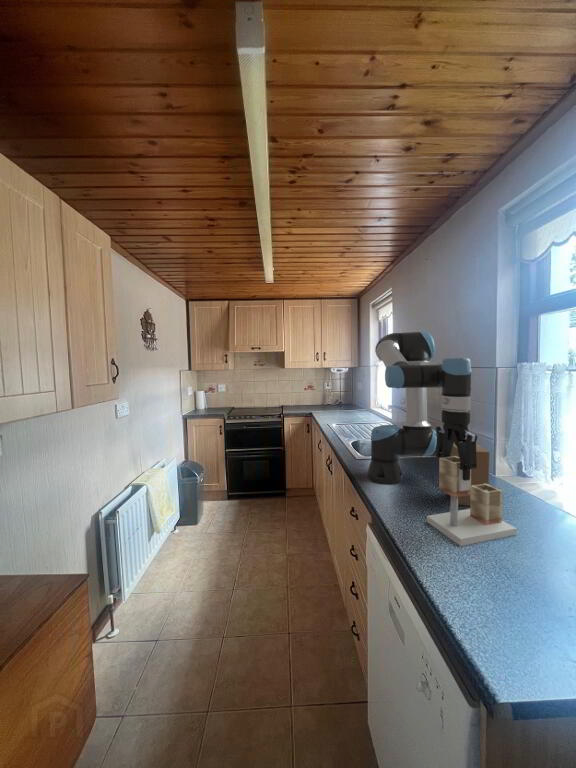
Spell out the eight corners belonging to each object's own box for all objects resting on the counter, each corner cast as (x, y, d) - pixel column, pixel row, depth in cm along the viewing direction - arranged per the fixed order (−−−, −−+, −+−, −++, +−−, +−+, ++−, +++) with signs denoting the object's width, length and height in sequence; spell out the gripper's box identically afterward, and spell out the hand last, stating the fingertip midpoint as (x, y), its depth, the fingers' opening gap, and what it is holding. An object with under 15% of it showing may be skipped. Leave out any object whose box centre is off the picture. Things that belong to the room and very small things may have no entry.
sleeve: (439, 489, 97) (439, 457, 97) (455, 487, 99) (455, 455, 98) (453, 497, 92) (454, 463, 91) (470, 494, 93) (471, 461, 92)
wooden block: (488, 507, 111) (490, 451, 110) (457, 505, 113) (458, 450, 112) (477, 495, 121) (478, 444, 119) (449, 493, 123) (450, 443, 121)
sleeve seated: (470, 515, 101) (470, 485, 100) (485, 513, 103) (485, 483, 102) (486, 525, 95) (486, 493, 95) (501, 522, 97) (502, 490, 96)
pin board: (426, 521, 102) (427, 488, 101) (477, 513, 107) (478, 481, 106) (460, 546, 88) (461, 508, 88) (516, 534, 93) (517, 498, 93)
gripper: (423, 406, 102) (422, 476, 103) (471, 415, 83) (469, 500, 85) (443, 405, 104) (442, 474, 105) (494, 414, 85) (492, 497, 87)
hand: (454, 485), depth 95 cm, fingers closed on sleeve, 6 cm apart
